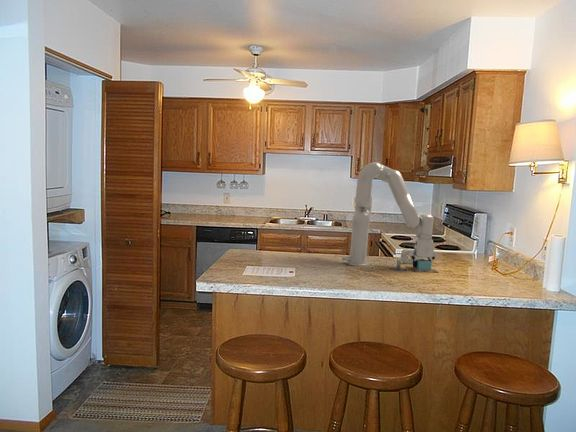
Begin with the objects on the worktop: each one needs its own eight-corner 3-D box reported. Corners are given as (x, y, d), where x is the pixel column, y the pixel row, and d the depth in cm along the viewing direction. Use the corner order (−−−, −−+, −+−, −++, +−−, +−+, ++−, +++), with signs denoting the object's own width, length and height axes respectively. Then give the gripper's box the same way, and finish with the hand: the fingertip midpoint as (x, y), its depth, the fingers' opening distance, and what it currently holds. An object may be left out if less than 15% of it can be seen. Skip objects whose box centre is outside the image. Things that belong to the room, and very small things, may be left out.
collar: (418, 270, 243) (419, 261, 242) (412, 267, 250) (413, 258, 249) (430, 270, 244) (431, 261, 243) (424, 267, 251) (425, 259, 250)
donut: (415, 264, 265) (417, 248, 264) (417, 266, 262) (419, 249, 261) (399, 263, 265) (400, 247, 264) (400, 265, 262) (402, 248, 261)
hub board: (414, 273, 240) (415, 261, 239) (405, 268, 252) (406, 256, 251) (438, 274, 242) (439, 262, 242) (427, 269, 254) (429, 257, 253)
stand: (393, 272, 239) (394, 262, 238) (386, 268, 249) (387, 258, 248) (410, 273, 241) (411, 262, 240) (402, 269, 250) (403, 258, 250)
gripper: (413, 237, 240) (410, 268, 242) (442, 238, 243) (439, 269, 245) (407, 235, 247) (404, 265, 249) (435, 236, 250) (432, 266, 252)
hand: (421, 267), depth 247 cm, fingers open, 7 cm apart
